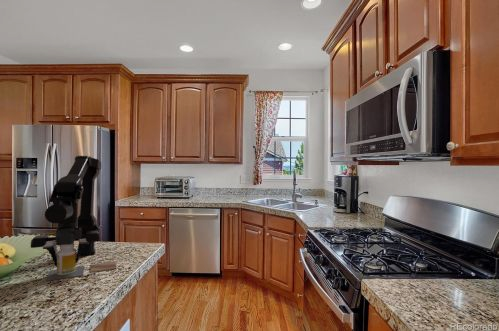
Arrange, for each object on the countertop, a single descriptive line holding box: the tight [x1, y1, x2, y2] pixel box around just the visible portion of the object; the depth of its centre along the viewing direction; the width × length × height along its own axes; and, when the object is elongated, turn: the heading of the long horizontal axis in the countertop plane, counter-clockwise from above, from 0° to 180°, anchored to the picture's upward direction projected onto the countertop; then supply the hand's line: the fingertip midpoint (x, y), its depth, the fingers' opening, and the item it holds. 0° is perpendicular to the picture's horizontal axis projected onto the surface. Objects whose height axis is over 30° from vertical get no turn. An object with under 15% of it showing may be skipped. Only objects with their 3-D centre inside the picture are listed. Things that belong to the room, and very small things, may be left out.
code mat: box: [45, 265, 85, 282], centre depth 91 cm, size 10×10×1 cm
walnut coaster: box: [89, 261, 117, 273], centre depth 98 cm, size 8×8×1 cm
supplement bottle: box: [56, 242, 77, 275], centre depth 92 cm, size 5×5×10 cm
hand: (66, 264), depth 91 cm, fingers closed on supplement bottle, 5 cm apart
